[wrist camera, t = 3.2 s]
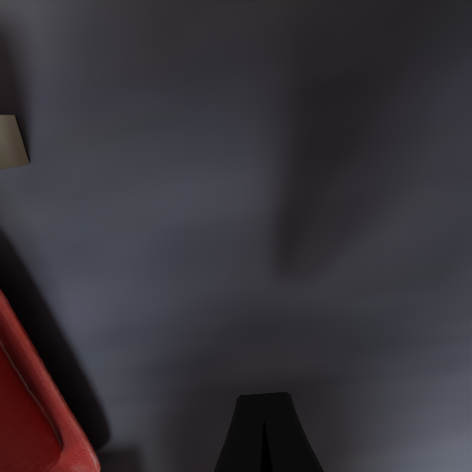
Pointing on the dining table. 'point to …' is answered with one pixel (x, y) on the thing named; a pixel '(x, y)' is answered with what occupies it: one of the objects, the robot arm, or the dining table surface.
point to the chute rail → (11, 143)
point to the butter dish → (35, 410)
